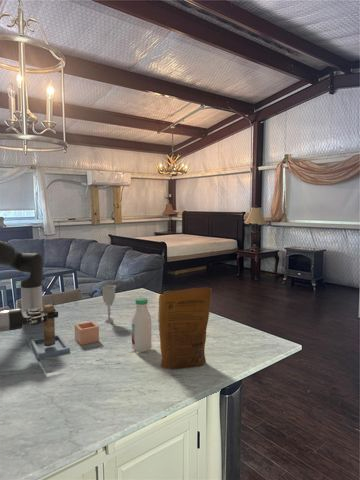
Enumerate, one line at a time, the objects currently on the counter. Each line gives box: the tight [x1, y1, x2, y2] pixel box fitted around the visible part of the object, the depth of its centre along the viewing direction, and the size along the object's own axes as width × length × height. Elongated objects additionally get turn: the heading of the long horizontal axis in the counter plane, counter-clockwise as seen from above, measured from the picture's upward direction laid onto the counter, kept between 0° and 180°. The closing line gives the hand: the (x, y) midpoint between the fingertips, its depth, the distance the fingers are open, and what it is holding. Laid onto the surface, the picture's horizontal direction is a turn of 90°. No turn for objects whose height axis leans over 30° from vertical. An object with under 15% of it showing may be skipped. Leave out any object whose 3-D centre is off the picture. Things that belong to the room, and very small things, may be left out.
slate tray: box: [30, 334, 71, 362], centre depth 127 cm, size 16×11×2 cm
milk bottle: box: [131, 297, 152, 353], centre depth 128 cm, size 8×8×20 cm
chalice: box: [101, 284, 117, 324], centre depth 156 cm, size 7×7×18 cm
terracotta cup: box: [74, 320, 100, 346], centre depth 135 cm, size 8×8×7 cm
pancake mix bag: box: [157, 287, 213, 370], centre depth 114 cm, size 7×19×28 cm, turn 102°
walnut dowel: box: [42, 304, 56, 346], centre depth 126 cm, size 4×4×15 cm
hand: (56, 312), depth 127 cm, fingers closed on walnut dowel, 3 cm apart
